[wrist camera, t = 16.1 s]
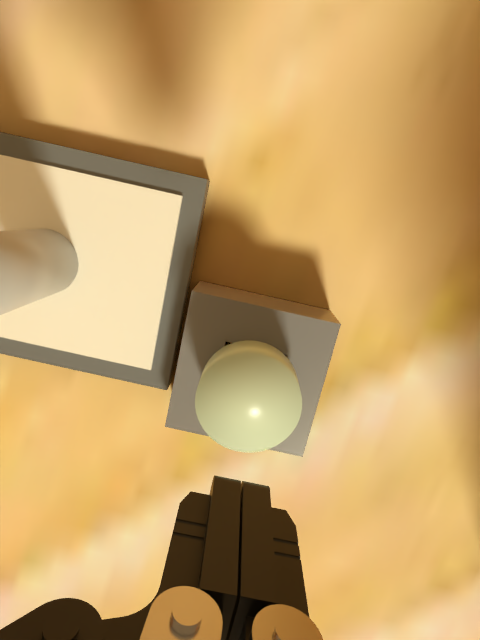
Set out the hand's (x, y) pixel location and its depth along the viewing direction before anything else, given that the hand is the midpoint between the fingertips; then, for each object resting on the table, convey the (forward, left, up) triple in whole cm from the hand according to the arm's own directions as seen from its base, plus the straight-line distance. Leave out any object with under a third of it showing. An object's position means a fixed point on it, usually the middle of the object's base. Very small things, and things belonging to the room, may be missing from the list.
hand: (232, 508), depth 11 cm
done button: (0, 0, -10) cm, 10 cm away
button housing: (0, 0, -12) cm, 12 cm away
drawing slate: (+11, -3, -12) cm, 17 cm away
